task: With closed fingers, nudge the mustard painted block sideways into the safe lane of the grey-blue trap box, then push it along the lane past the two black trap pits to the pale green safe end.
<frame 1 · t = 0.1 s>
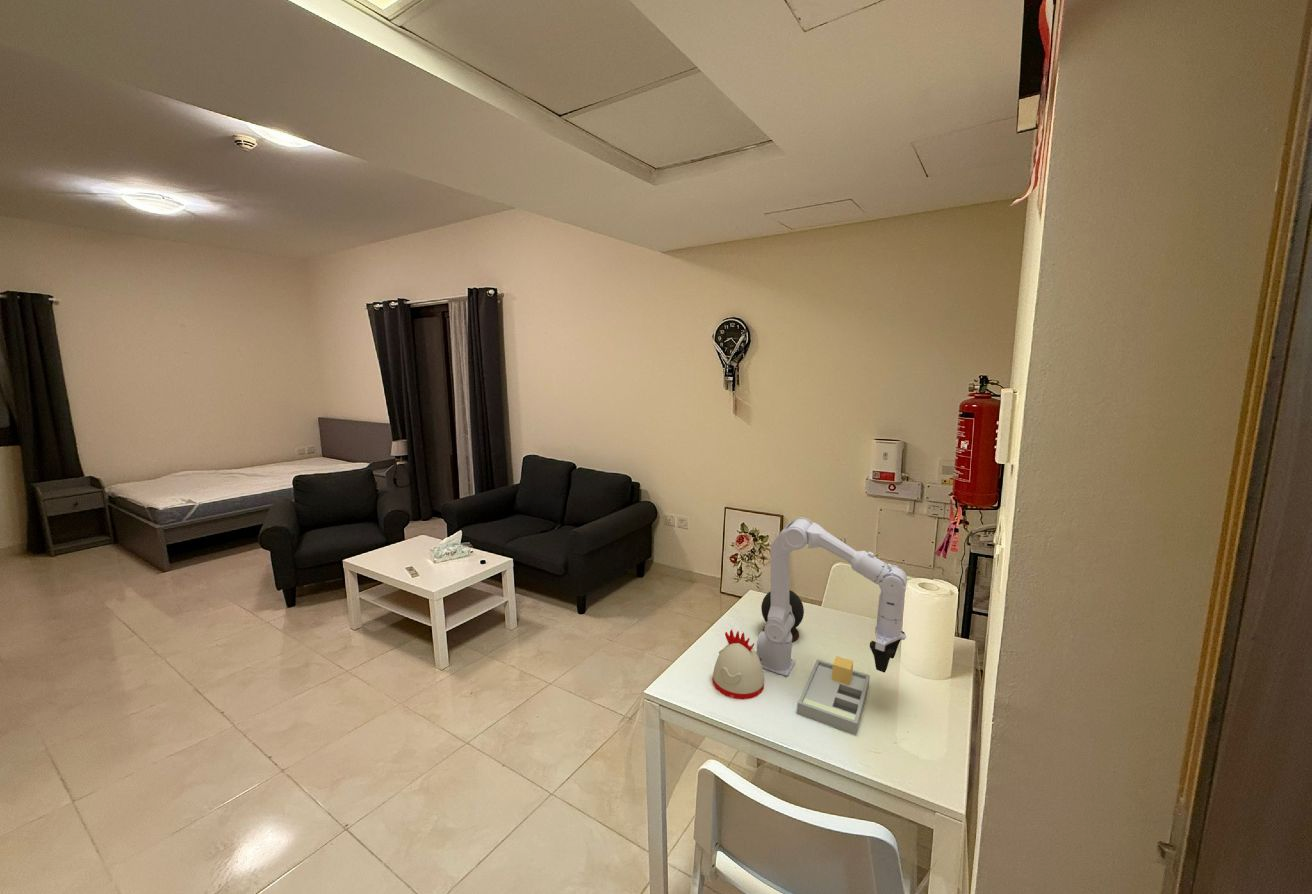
hand: (885, 663, 128), 10 cm above the table, fingers open, 7 cm apart
block: (841, 677, 134), point 2 cm above the table, touching trap box
trap box: (834, 698, 129), on the table
kitchen timer: (738, 683, 136), on the table
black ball: (781, 634, 160), on the table
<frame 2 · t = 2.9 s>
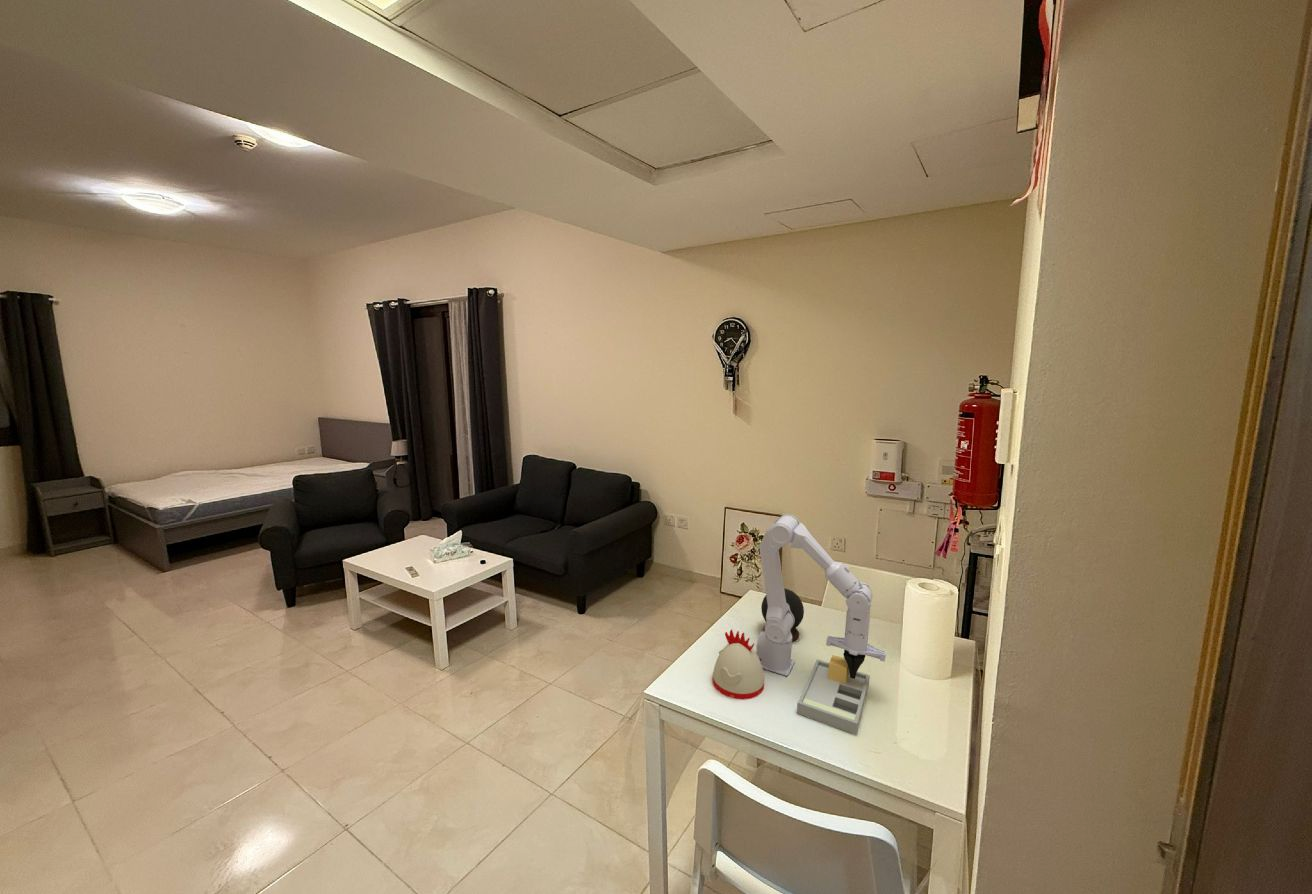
hand: (853, 676, 133), 3 cm above the table, fingers closed
block: (838, 676, 135), point 2 cm above the table, touching gripper
everything else where it was.
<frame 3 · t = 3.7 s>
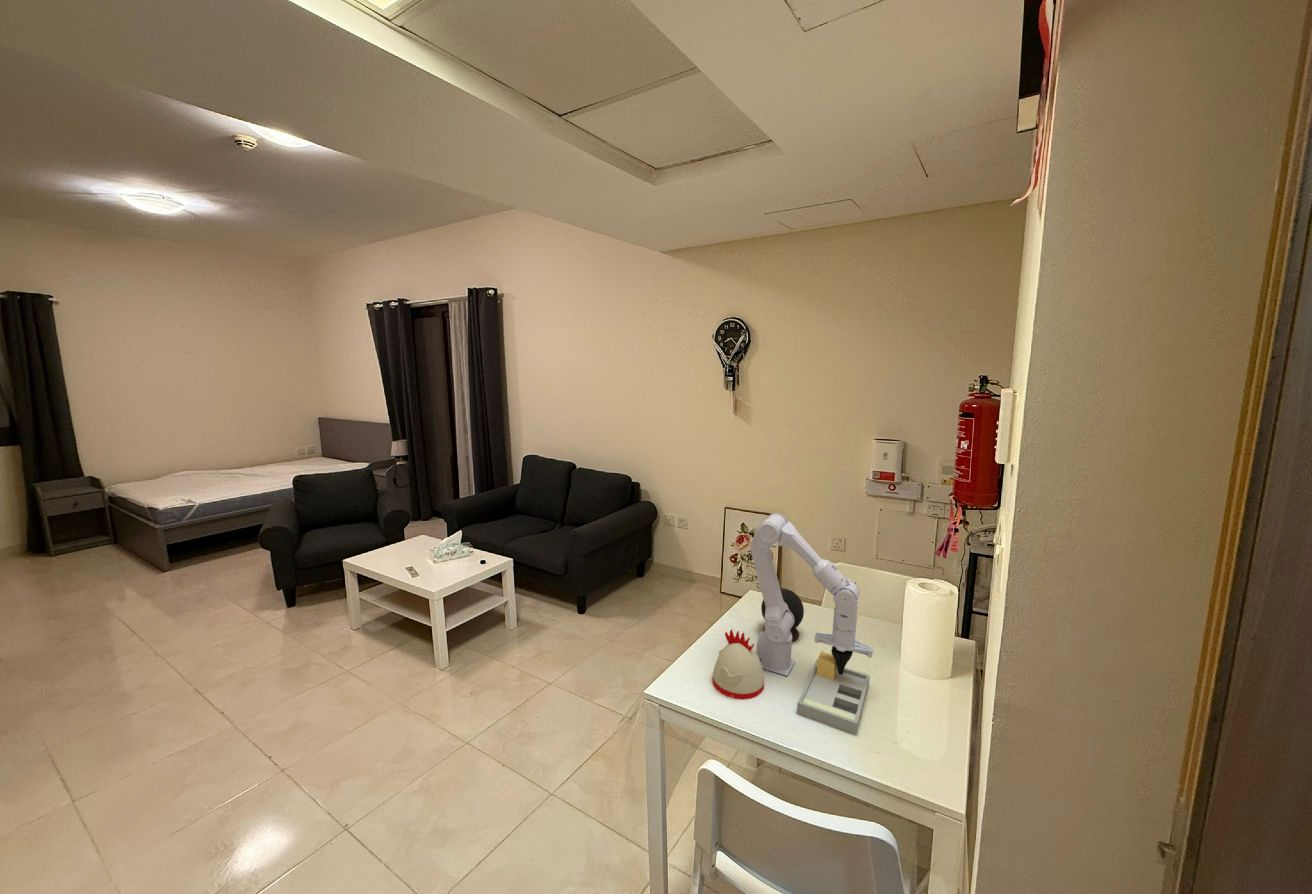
hand: (840, 672, 134), 3 cm above the table, fingers closed
block: (826, 672, 136), point 2 cm above the table, touching gripper, trap box
everything else where it was.
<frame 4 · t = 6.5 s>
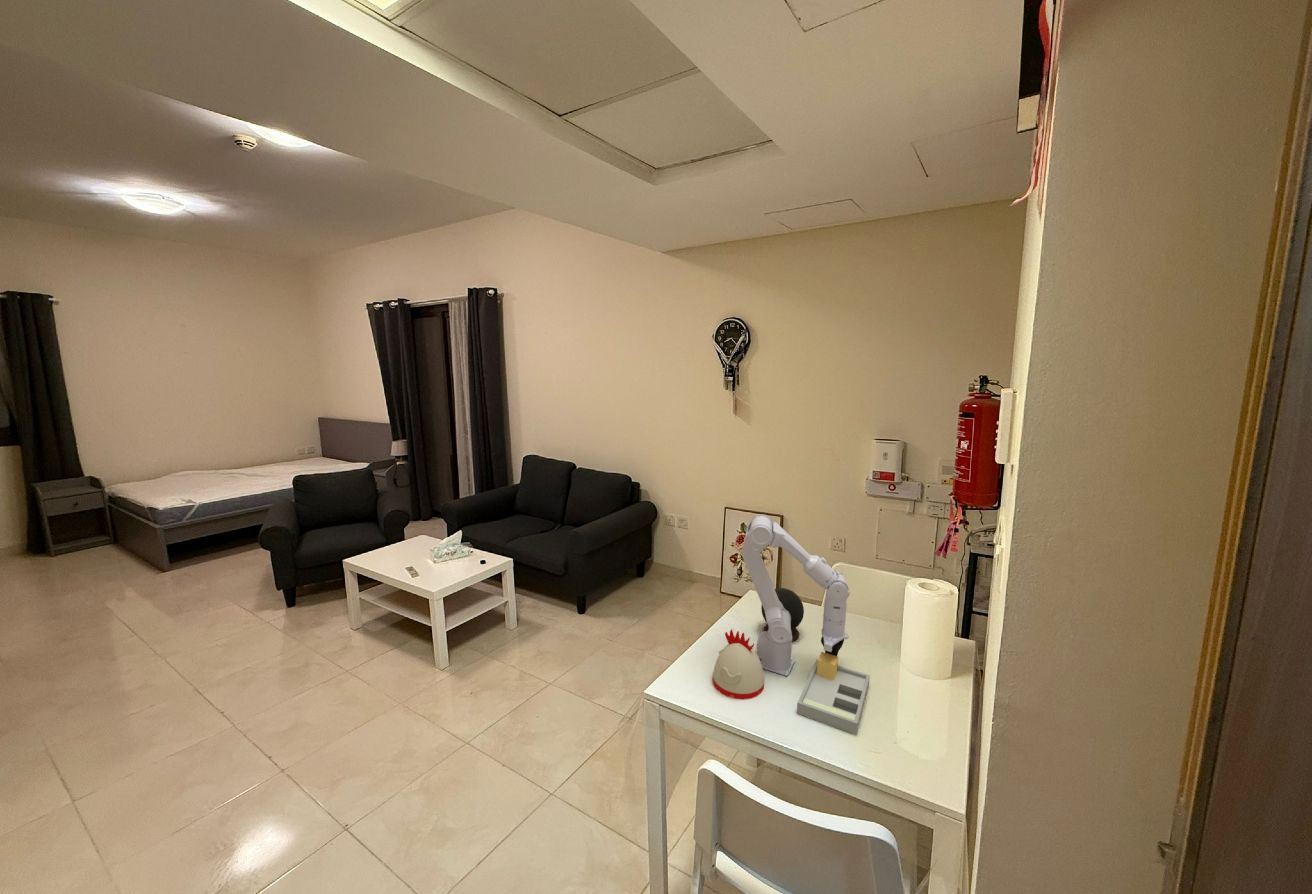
hand: (830, 661, 139), 3 cm above the table, fingers closed
nothing on the table moved.
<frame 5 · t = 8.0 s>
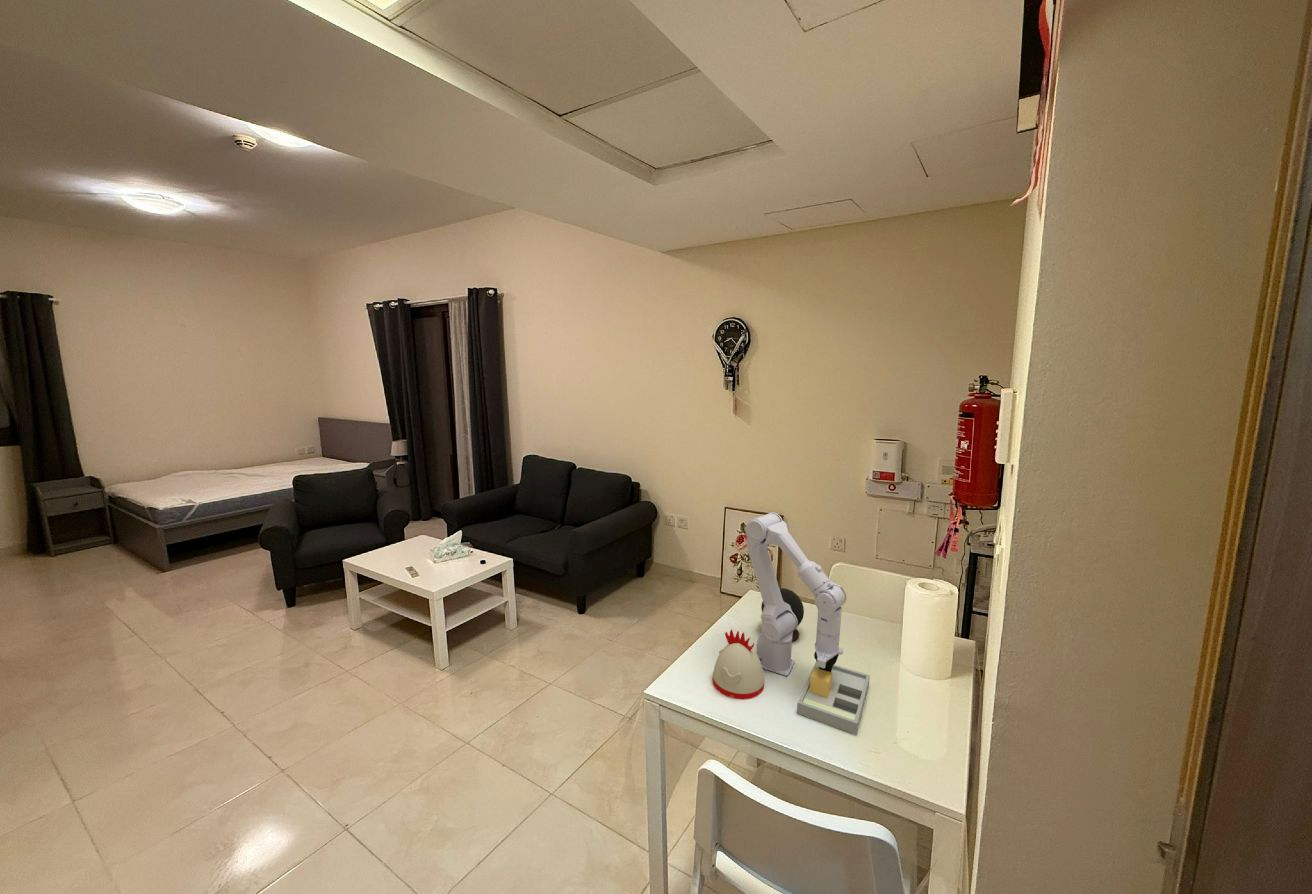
hand: (824, 677, 132), 3 cm above the table, fingers closed
block: (820, 690, 129), point 2 cm above the table, touching gripper
everything else where it was.
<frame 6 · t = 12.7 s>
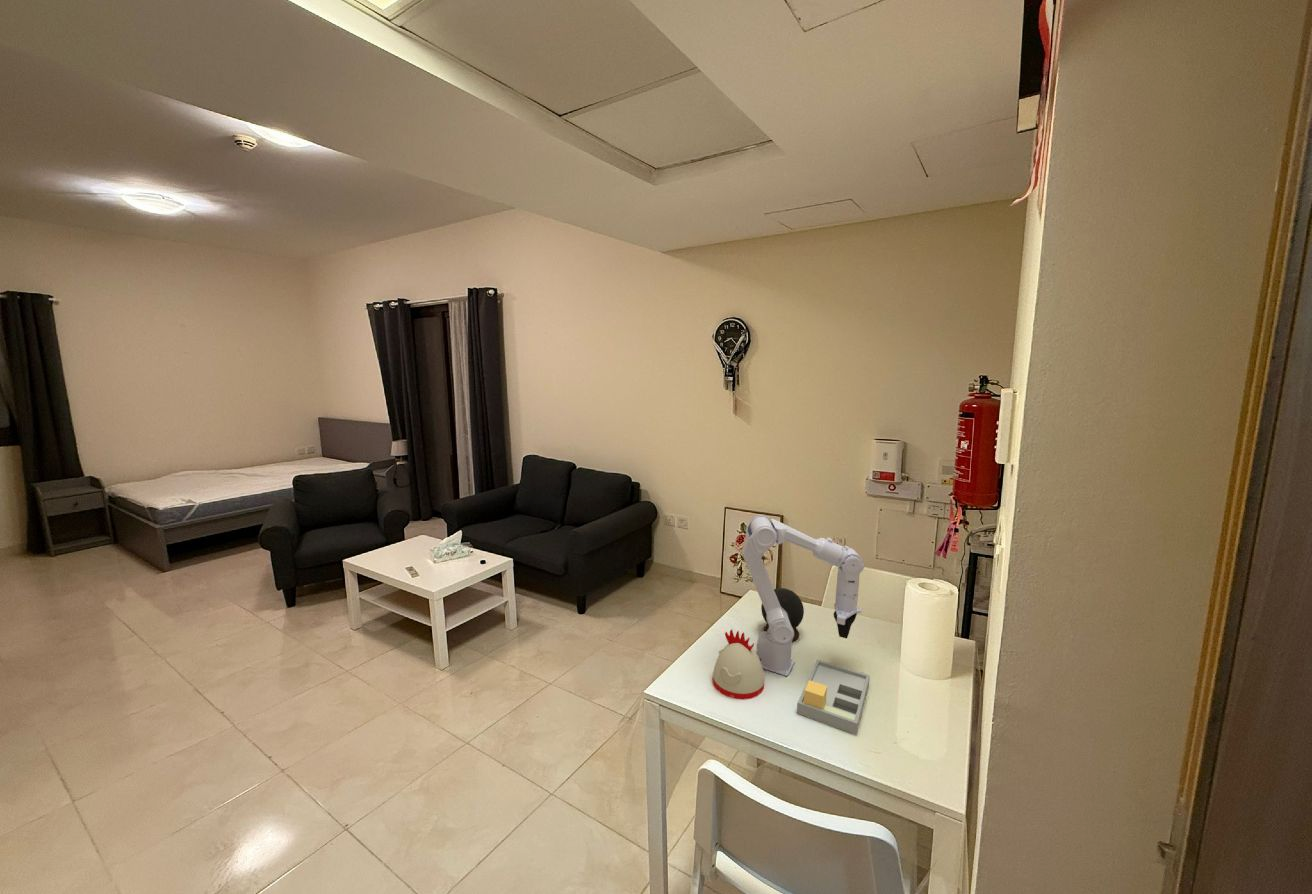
hand: (843, 636, 140), 10 cm above the table, fingers closed
block: (814, 704, 124), point 2 cm above the table, touching trap box
everything else where it was.
at the end: block 0.5 cm from the target spot, point 2.0 cm above the table; block tilted 0° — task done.
